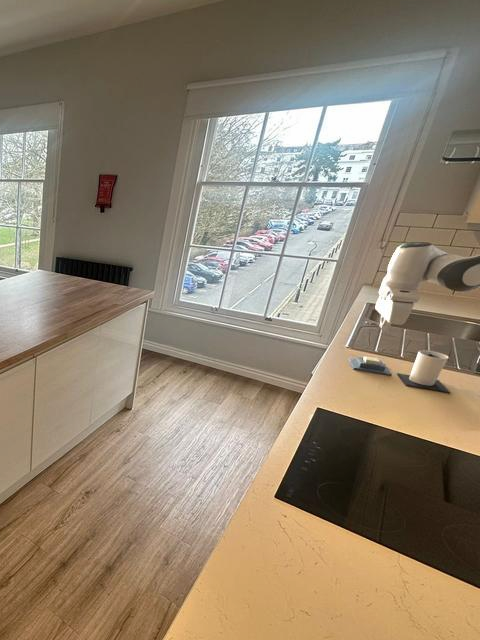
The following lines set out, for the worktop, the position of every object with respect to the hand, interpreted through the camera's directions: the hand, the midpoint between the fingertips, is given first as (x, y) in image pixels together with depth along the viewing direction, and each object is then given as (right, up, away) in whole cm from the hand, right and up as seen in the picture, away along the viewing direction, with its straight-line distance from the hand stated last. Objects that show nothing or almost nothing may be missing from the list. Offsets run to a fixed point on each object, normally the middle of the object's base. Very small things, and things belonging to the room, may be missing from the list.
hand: (383, 329), depth 140 cm
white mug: (+7, -18, -6) cm, 20 cm away
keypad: (0, -14, +5) cm, 15 cm away
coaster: (+6, -19, -6) cm, 21 cm away
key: (0, -12, +5) cm, 13 cm away
